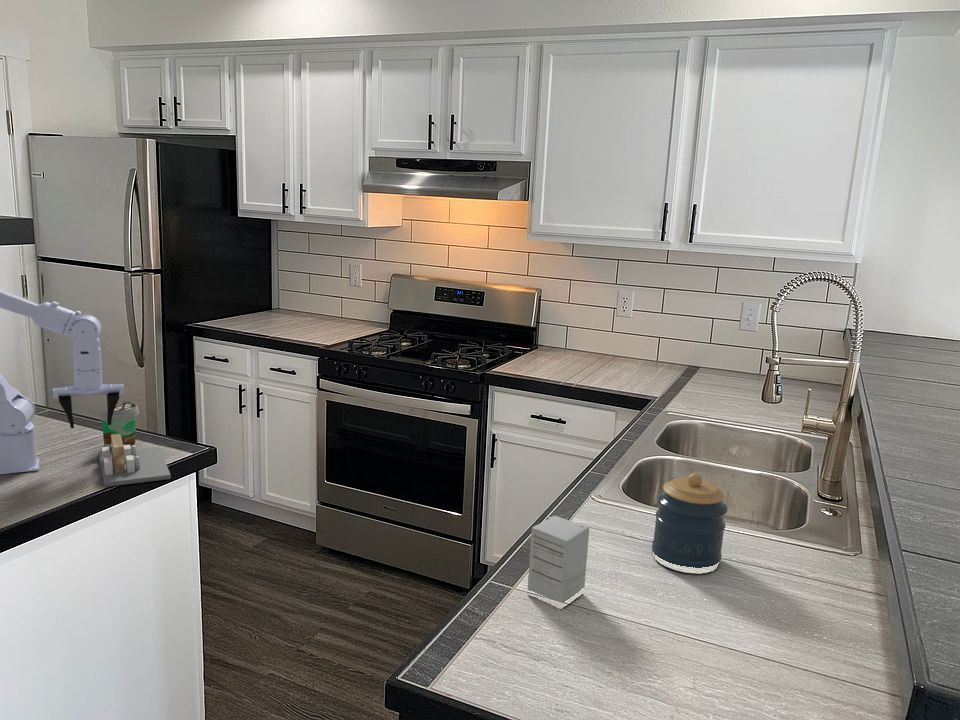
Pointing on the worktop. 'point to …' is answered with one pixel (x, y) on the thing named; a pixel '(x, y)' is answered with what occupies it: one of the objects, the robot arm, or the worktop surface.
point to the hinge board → (134, 466)
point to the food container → (121, 423)
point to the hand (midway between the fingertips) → (90, 425)
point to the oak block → (117, 453)
